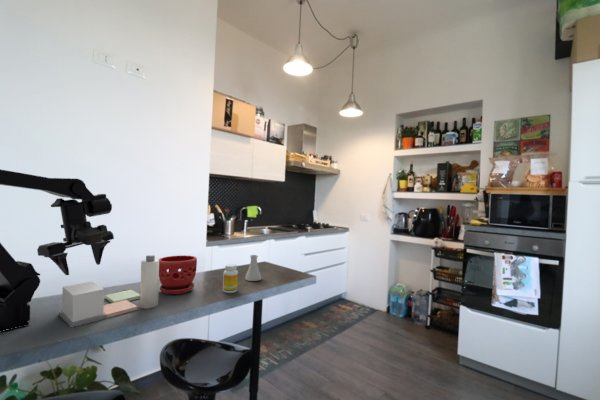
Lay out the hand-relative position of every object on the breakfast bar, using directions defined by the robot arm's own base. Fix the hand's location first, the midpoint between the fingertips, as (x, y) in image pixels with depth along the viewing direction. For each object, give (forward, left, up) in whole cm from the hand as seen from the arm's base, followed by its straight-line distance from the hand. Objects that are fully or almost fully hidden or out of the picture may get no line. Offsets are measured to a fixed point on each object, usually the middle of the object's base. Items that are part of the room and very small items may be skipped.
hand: (83, 269), depth 90 cm
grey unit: (-3, -10, -11) cm, 15 cm away
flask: (+55, -17, -11) cm, 59 cm away
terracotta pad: (+5, -12, -11) cm, 17 cm away
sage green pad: (+10, -3, -11) cm, 15 cm away
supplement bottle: (+39, -22, -11) cm, 46 cm away
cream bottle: (+13, -15, -11) cm, 23 cm away
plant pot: (+26, -8, -11) cm, 30 cm away
